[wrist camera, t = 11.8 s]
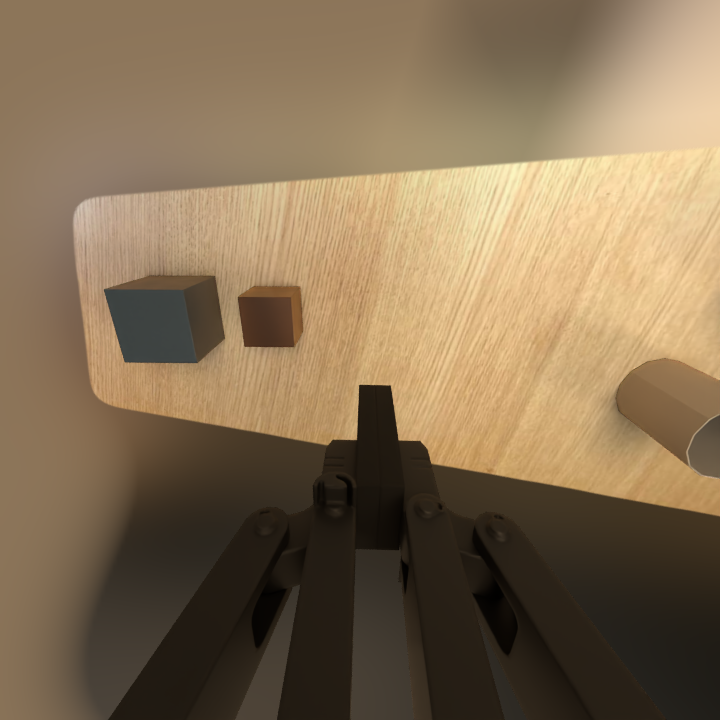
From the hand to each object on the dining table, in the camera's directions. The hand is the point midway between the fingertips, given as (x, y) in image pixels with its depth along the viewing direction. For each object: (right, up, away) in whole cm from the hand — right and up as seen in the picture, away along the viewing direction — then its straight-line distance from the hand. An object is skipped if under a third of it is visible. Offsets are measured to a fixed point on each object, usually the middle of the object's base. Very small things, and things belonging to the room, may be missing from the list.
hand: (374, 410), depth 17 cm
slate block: (-19, +8, +21) cm, 30 cm away
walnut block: (-10, +8, +21) cm, 25 cm away
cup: (+34, -1, +24) cm, 42 cm away
